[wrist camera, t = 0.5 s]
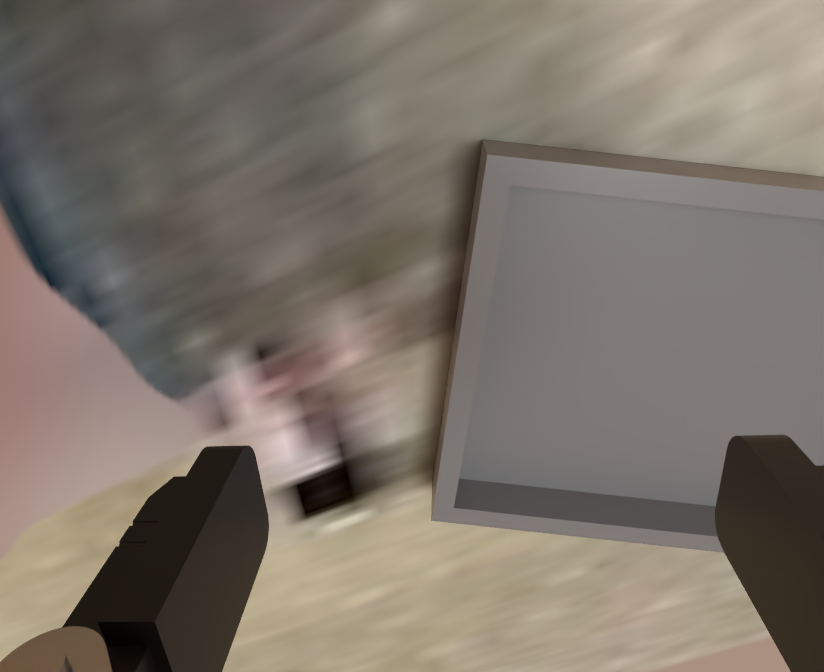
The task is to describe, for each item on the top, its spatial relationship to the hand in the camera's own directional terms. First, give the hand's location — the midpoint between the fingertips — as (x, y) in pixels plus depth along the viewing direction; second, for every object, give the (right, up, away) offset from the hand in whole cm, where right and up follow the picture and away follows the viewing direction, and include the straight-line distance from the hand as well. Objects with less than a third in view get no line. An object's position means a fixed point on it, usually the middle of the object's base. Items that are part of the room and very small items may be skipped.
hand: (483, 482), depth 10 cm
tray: (+12, +1, +18) cm, 22 cm away
